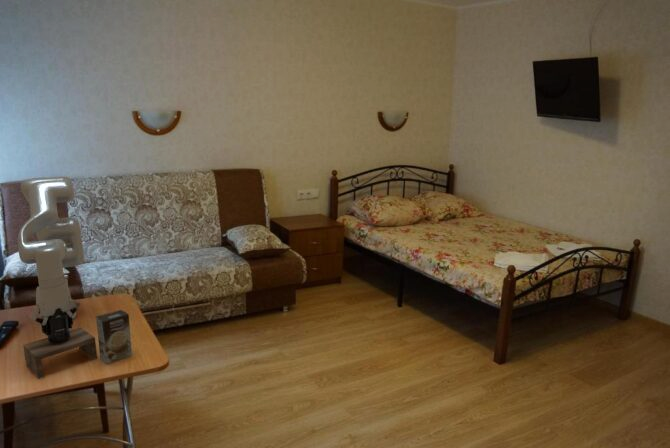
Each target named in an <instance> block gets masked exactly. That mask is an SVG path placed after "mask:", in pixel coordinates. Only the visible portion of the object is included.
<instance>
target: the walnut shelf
mask: <svg viewBox="0 0 670 448" xmlns="http://www.w3.org/2000/svg"><path fill="white" fill-rule="evenodd" d="M96 343H97V342H96V337H95V336H93V335H92V334H91V333H89V331H87V330H85V329H84V328H83V327H78V328H75V329H70V337H69V339H67V340H66V341H63V342H59V343H51V342H49V341H48V337H45V338H42V339H39V340H36V341H32V342H29V343H25V344H23V345H22V347H23V352H24V353H23V354H24V360H25V365H26V367H27V368H28V369H29V370H30V372H31V373H32V374H34V376H35V377H37V379H38V380H39V379H43V378H44V377H45V375H44V374H45V373H44V367H43V359H47V358H49V357H53V356H56V355H59V354H62V353H65V352H68V351H71V350H74V349H77V348H78V350H80V351H81V352H82V353H84V354H85V356H87V357H88V358H90V359H91V360H93V361H94V360H96V359H98V351H97V344H96Z"/></svg>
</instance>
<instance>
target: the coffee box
mask: <svg viewBox="0 0 670 448" xmlns="http://www.w3.org/2000/svg"><path fill="white" fill-rule="evenodd" d="M95 319H96V328H97V340H98V350H99V359H100V360H102V362H104V363H105V364H107V365H108V364H111V363H115V362H118V361H120V360H123V359H124V360H125V359H127V358H129V357H132V356H133V350H132V349H133V348H132V340H131V339H132V338H131V327H130V326H131V325H130V314H128V313H127V312H126V311H125V310H122V309H119V310H116V311H115V310H114V311H111V312H108V313H107V312H106V313H103V314H100V315H96V316H95Z"/></svg>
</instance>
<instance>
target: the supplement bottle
mask: <svg viewBox="0 0 670 448" xmlns="http://www.w3.org/2000/svg"><path fill="white" fill-rule="evenodd" d="M54 314H55V315H52V316H49V317H48V320H47V324H48V327H49V335H48V336H47V338H48V341H49V342H51V343H59V342H63V341H66V340H67V339H69V337H70V331H71V329H70V328H69V321H68V314H67V313H66V312H63V311H61V308H58V309H56V310H55V313H54Z"/></svg>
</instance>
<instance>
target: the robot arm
mask: <svg viewBox="0 0 670 448" xmlns="http://www.w3.org/2000/svg"><path fill="white" fill-rule="evenodd" d="M20 188H21V192H22V194H23V196H24V198H25V199H26V202H27V203H28V204H29V211H30V218H28V219H27V220H26V221H25V222H24V223H23V225H22V226H21V228H20V230H19V231H18V233H17V234H18V236H17V243H18V244H17V246H18V248H17V249H18V256H19V259H20V261H21V262H22V263H23V264H26V265H31V264H35V266H36V272H37V279H38V286H37V287H36V291H35V305H36V308H35V309H33V311H32V312H31V313H30V314H29V318H30V319H31V320H33V321H35V322H37V323H38V324H40V325H41V331H42V333H43V334H44V335H46V336H47V337H48V335H49V327H48V324H47V320H48V317H49V316H52V315H55V314H54V313H55V310H56V309H58V308H61V311H63V312H66V313H67V314H68V321H69V330H72V329H73V325H74V324H73V323H74V322H73V320H74V319H75V318H76V317H77V311H78V308H80V306H81V302H78V301H77V300H75V299H73V298H72V296H71V292H70V288H69V282H68V281H69V280H68V279H69V278H70V277H69V275H68V274H65V272H64V269H63V268H69V267H70V268H71V267H77V266H78V267H79V266H80V265H82V264H83V263H84V262H85V253H84V246H83V238H82V237H83V236H82V230H81V225H80V222H79V220H78V219H77V218H75V217H61V218H60V217H59V213H58V206H57V204H58V203H59V204H60V203H70V202H72V201H73V200H74V196H75V192H74V191H75V189H74V186H73V182H72V179H70V177H68V176H51V177H49V176H48V177H34V178H27V179H24V180H23V181H22V182H21V183H20ZM34 234H36V238H37V240H35V241H28V240H29V239H30V237H32V236H33V235H34ZM66 242H69V243H66ZM37 315H40V316H41V317H38V316H37Z"/></svg>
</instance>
